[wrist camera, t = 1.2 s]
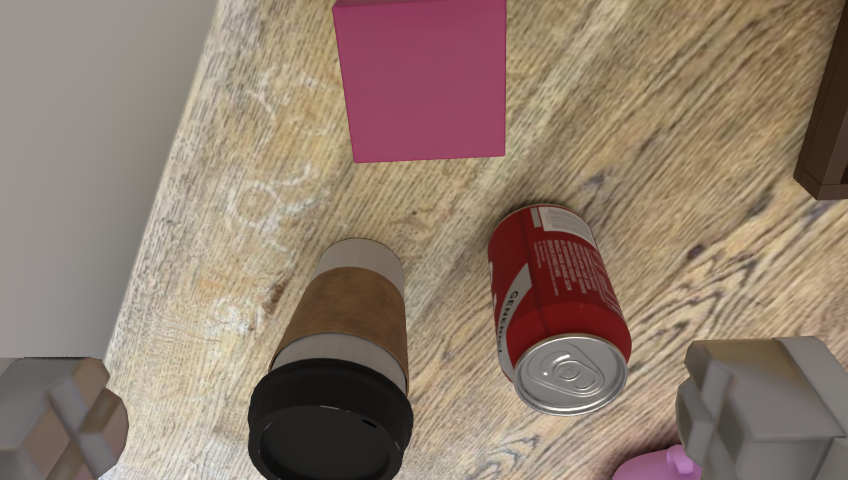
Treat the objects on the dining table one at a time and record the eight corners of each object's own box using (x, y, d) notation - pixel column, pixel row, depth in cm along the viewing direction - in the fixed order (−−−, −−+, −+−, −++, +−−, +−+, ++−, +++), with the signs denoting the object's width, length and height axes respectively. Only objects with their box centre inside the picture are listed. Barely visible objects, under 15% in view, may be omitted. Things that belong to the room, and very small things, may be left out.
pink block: (353, -26, 21) (331, 6, 17) (494, -35, 21) (506, -5, 17) (370, 108, 24) (353, 163, 20) (495, 102, 24) (505, 157, 20)
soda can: (535, 178, 37) (568, 303, 27) (613, 234, 39) (671, 370, 29) (465, 250, 40) (472, 386, 30) (541, 299, 42) (571, 442, 32)
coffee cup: (447, 269, 41) (448, 458, 28) (371, 338, 44) (341, 532, 32) (348, 197, 38) (300, 371, 25) (275, 277, 42) (201, 463, 29)
